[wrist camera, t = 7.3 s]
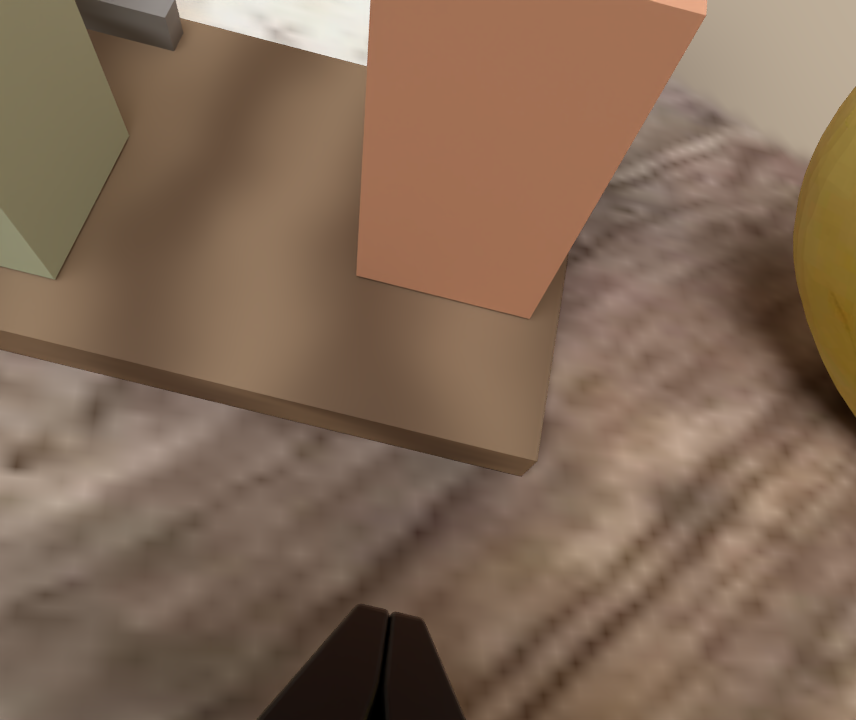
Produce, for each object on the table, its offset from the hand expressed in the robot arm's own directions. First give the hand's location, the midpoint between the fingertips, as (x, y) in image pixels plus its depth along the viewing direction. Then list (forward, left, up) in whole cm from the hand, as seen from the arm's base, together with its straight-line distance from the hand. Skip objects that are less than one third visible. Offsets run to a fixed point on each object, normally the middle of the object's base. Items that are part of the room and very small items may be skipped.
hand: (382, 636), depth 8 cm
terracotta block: (+5, -13, -11) cm, 18 cm away
